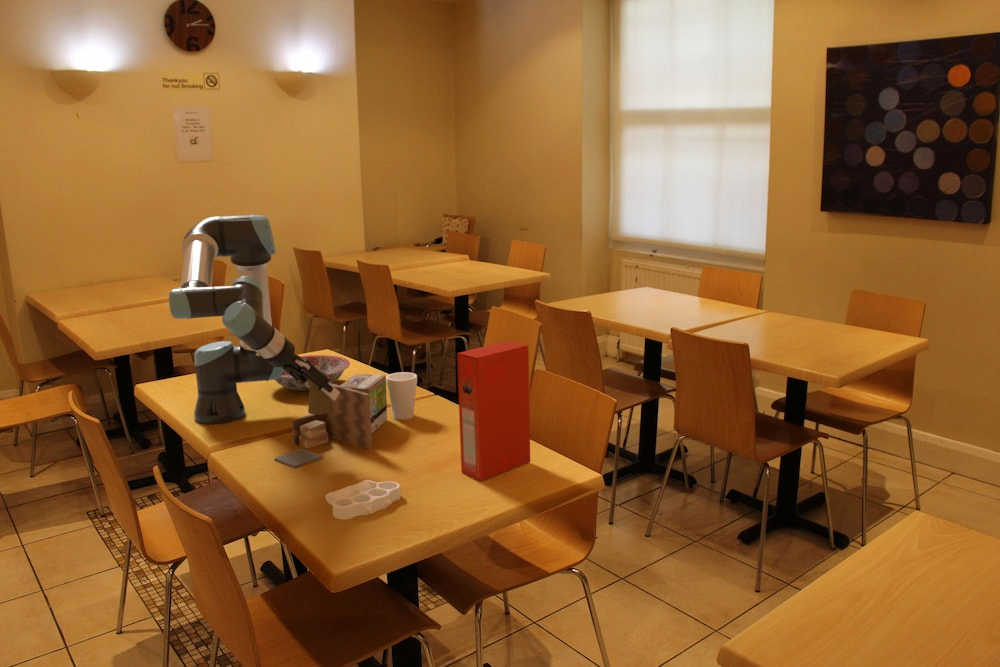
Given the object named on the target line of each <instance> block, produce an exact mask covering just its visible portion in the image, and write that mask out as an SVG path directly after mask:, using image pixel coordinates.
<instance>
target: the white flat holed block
mask: <svg viewBox="0 0 1000 667" xmlns="http://www.w3.org/2000/svg"><path fill="white" fill-rule="evenodd" d="M401 497H402V494H401V485H400V483H398V482H395V481H389V480H388V481H387V480H385V481H381V482H379V481H378V482H377V481H373V480H371V479H364V480H362V481H361V482H357V483H355V484H352V485H347V486H346V487H343V488H340V489H338V490H334V491H330V492H328V493H327V494H325V500H326V502H327V503H328V504H329V505H330V506H332V516H333V517H334V518H336V519H338V520H351V519H352V518H355V517H358V516H360V517H361V516H367V515H372V514H374V513H376V512H377V511H379V510H380V511H381V510H384V509H387V508H389V507H390V505H392V504H393V503H394V502H396V501H399V500H400V499H401Z"/></svg>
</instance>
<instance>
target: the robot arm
mask: <svg viewBox="0 0 1000 667" xmlns="http://www.w3.org/2000/svg"><path fill="white" fill-rule="evenodd" d="M273 234H274V233H273V230H272V225H271V222H270V219H269V218H268V217H267V216H266V215H261V214H260V215H259V214H245V215H243V214H242V215H226V216H212V217H208V218H205V219H203V220H201V221H198V222H197V223H196V224H195V225H194V226H192V227H191V228H190V229H189V230H188V231H187V232H186V234H185V236H184V237H183V240H182V245H181V251H182V254H183V257H184V259H183V266H182V273H181V281H180V286H179V287H178V288H174V289H171V290H170V291H169V294H168V305H169V312H170V315H171V317H172V318H173V319H177V320H180V319H185V320H190V319H200V318H201V319H202V318H211V317H212V318H213V317H222V318H221V322H222V324H223V326H224V327H225V328H226V329H227V330H228V331H229V332H230V333H231V334H232V335H233V336H235V337H237V338H238V339H239V345H234V344H233V342H232V341H230V340H229V341H228V340H227V341H226V340H221V341H216V342H211V343H207V344H204V345H202V346H200V347H198V348H197V349H196V350H195V351H194V353H193V354H194V355H193V356H194V363H193V365H194V367H195V374H196V376H195V377H196V385H197V398H196V403H195V407H194V412H193V415H194V416H193V417H194V420H195V421H196V422H197V423H199V424H212V425H213V424H224V423H228V422H229V423H230V422H233V421H235V420H236V421H237V420H238V419H241V418H242V417H244V416H245V414H246V412H245V411H246V410H245V409H246V408H245V405H244V403H243V400H242V398H241V396H240V394H239V391H238V387H237V384H240V383H252V382H263V381H265V382H269V381H271V380H272V381H273V380H274V379H279V378H280V377H281V375H282V370H285V371H286V372H287V373H288V374H289V375H291V376H292V377H293V378H294V379H295V380H297V381H298V380H300V382H302V383H304V382H305V385H306V386H308V387H309V388H310V384H309V382H308V379H309V380H310V381H312V382H313V383H315V384H316V385H317V386H319V388H318V390H320V391H321V390H322V391H323V392H324V393H325V394H326V395H328V396H329V397H330V398H331V399H332V400H334V401H335V400H336V398H337V397H338V395H339V393H340V392H339V391H338V390H337V389H336V388H335V387H333V386H332V385H331V384H330V383H329V381H330V380H329V379H328V378H327V377H326V376H325V375H323V374H322V373H321V372H320V371H319V370H318V369H316V368H315V367H314V366H313V365H312V364H311V363H310V362H309V361H307V360H306V362H305V361H303V360H302V359H301V357H300V356H301V355H298V354H295V352H296V350H295V349H296V347H295V344H294V343H292V342H291V341H290V340H289V339H288V338H287V337H285V336H284V334H283V333H281V332H280V331H279V330H278V329H277V328H276V327H275V326H273V324H272V322H273V321H272V313H271V312H272V311H271V302H270V301H271V299H270V289H269V288H270V286H269V278H268V266H267V265H268V264H270V262H271V261H272V256H273V255H275V254H276V252H277V251H276V244H275V240H274V239H275V238H274V235H273ZM220 257H222V258H223V257H226V258H227V257H229V258H230V263H231V264H232V265H233V266H235V267H236V273H237V278H236V279H234V281H233V282H232V284H231V285H222V286H221V285H220V286H212V285H213V275H214V260H215V259H216V258H220ZM307 378H308V379H307ZM274 381H275V380H274Z"/></svg>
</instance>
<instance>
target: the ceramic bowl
mask: <svg viewBox="0 0 1000 667" xmlns="http://www.w3.org/2000/svg"><path fill="white" fill-rule="evenodd" d="M299 356H300V357H301V359H302V360H303V361H305V362H306V360H307V361H309V362H310V363H311V364H312V365H313V366H314V367H315V368H316V369H318V370H319V371H324V372H325V373H326V374H327V378H328V379H329V380H330V381H329V383H332V384H335V382H337V381H338V380H339V379H340V378H341V377H342V376H343V373H344V371H346V369H349V367H350V366H351V362H350V361H349V359H347V358H344V357H341V356H338V355H329V354H328V355H327V354H326V355H325V354H315V355H314V354H309V355H299ZM274 381H275V382H276V383H277V384H279V385H280V386H282V387H284V388H286V389H290V390H294V391H310V388H309V387H308V386H306V385H305V382H304V383H302V382H300V380H298V381H297V380H295V379H294V378H293V377H292V376H291V375H289V374H288V373H287V372H286V371H285V370H282V375H281V377H280V378H279V379H274Z"/></svg>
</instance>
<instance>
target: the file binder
mask: <svg viewBox="0 0 1000 667" xmlns="http://www.w3.org/2000/svg"><path fill="white" fill-rule="evenodd" d="M456 360H457V382H458V383H457V387H458V388H457V390H458V412H459V415H458V416H459V437H460V438H459V439H460V440H459V442H460V465H461V466H460V468H461V474H463V475H466V476H468V477H470V478H472V479H474V480H477V481H480V482H481V481H483V480H487V479H489V478H491V477H494V476H497V475H500V474H502V473H505V472H507V471H510V470H513V469H515V468H518V467H521V466H524V465H526V464H528V463H531V433H530V432H531V425H530V424H531V423H530V422H531V420H530V417H531V416H530V373H529V372H530V370H529V369H530V367H529V366H530V364H529V363H530V362H529V360H530V359H529V344H528V345H527V344H523V343H518V342H514V341H510V340H508V341H503V342H499V343H494V344H491V345H487V346H481V347H478V348H473V349H469V350H466V351H461V352H457V353H456Z"/></svg>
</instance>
